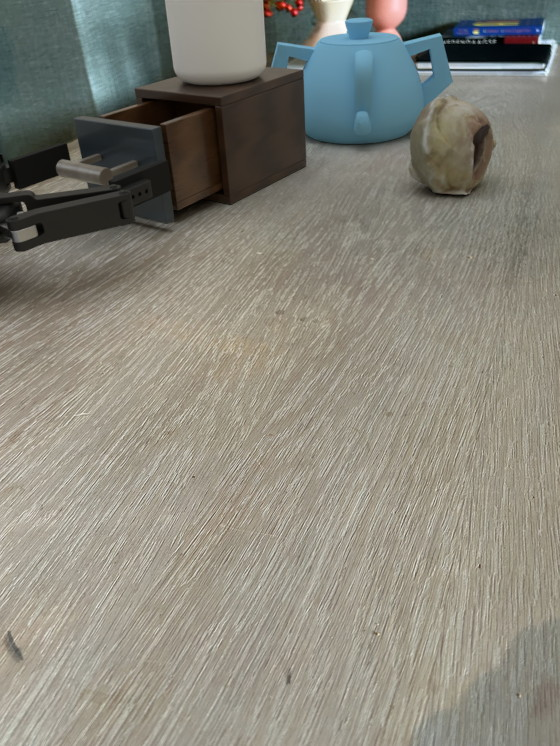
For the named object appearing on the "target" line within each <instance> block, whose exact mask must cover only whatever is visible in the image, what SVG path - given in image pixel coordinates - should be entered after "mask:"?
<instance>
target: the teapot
mask: <svg viewBox="0 0 560 746" xmlns="http://www.w3.org/2000/svg"><path fill="white" fill-rule="evenodd" d="M373 23H374V19H372V18H371V17H354V18H347V19H346V20H345V21H344V24H345V28H346V33H336V34H331V35H326V36H323V37H321V38H319V40H317V42H316V43H315V45H314V46H309V45H304V44H303V45H302V44H296V43H295V44H294V43H289V42H283V41H277V42H276V45H275V50H274V54H273V58H272V62H271V66H270V67H275V68H288V65H289V59H290V58H294V59H297V60H302V61H305V63H304V66H303V68H302V69H303V72H304V103H305V135H307V136H308V137H309V138H311V139H313V140H316V141H318V142H324V143H329V144H338V145H339V144H340V145H341V144H342V145H364V144H375V143H376V144H377V143H383V142H389V141H392V140H396V139H399V138H402V137H404V136H406V135H408V134H409V133H410V132H411V131H412V128H413V126H414V124H415V122H416V120H417V118H418V116H419V115H420V113H421V111H422V110H423V108H424V107H425V106H426V105H427V104H428V103H430V102H431V101H433V100H434V99H435V98H437V97H439V96H440V95H441V94H442V93H443V92H444V91H445V90H446V89H447V88H448V87H449V86H450V85H451V84H453V82H454V80H453V76H452V71H451V68H450V64H449V60H448V56H447V52H446V48H445V43H444V39H443V35H442V34H441V33H440V32H438V33H434V34H430V35H426V36H422V37H418V38H414V39H410V40H407V41H403V40H402V38H401V37H400V36H399V35H397V34H395V33H389V32H381V31H379V32H377V31H375V32H374V31H371V29H372V27H373ZM426 51H429V52H428V53H429V56H430V57H429V59H430V65H431V72H432V74H431V75H429V76H428V77H427V78H426V79H425V80H424V81H422V79H421V77H420V74H419V71H418V68H417V66H416V64H415V62H414V60H413V58H412V56H415V55H417V54H421V53H423V52H426Z"/></svg>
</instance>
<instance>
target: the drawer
mask: <svg viewBox="0 0 560 746" xmlns="http://www.w3.org/2000/svg"><path fill="white" fill-rule="evenodd" d="M73 124H74V128H75V133H76V137H77V142H78V143H77V144H78V146H79V152H80V156H81V158H80V159H77V160H71V161H69V160H64V159H62V160H60V161H58V163H57V165H56V171H57V174H58V175H59V176H58V177H61V178H65V179H70V180H74V181H80V182H85V183H86V185H87V188H93V187H101V186H108V185H109V183H108V181H109V180H111V179H114V178H116V177H119V176H121V175H124V174H126V173H129V172H131V171H134V170H136V169H139V168H141V167H144V166H146V165H149V164H151V163H154V162H156V161H159V160H168V166H169V173H170V180H171V187H172V190H171V191H169V192H167V193H165V194H162V195H160V196H158V197H156V198H153V199H151V200H149V201H147V202H144V203H142V204H140V205H138V206H136V207H133V208H134V213H135V218H139V219H144V220H148V221H153V222H156V223H160V224H165V225H167V224H170V223H172V222H174V221H175V213H174V210H175V211H180V210H182V209H183V208H187V207H188V206H191V205H192V204H195V203H196V202H198V201H200V200H201V201H202V200H204V199H203V198H205V197H207V196H209V195H211V194H213V193H215V192H217V191H219V190H221V189H223V182H222V172H221V162H220V152H219V142H218V132H217V122H216V112H215V106H212V105H203V104H194V103H185V102H176V101H167V100H158V99H152V100H149V101H146V102H142V103H139V104H137V103H136V104H133V105H130V106H127V107H123V108H120V109H116V110H113V111H110V112H107V113H104V114H100V115H99V116H98V117H95V116H87V115H80V116H76V117H73Z"/></svg>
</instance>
